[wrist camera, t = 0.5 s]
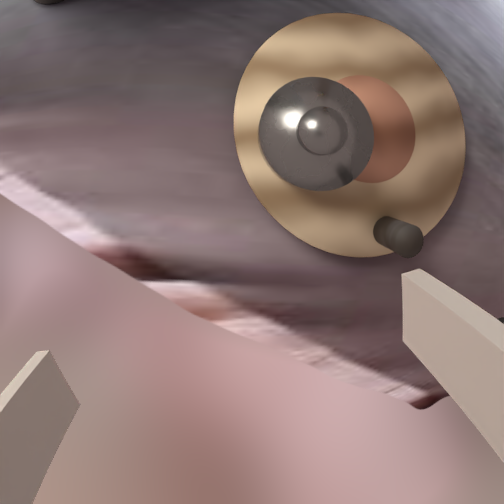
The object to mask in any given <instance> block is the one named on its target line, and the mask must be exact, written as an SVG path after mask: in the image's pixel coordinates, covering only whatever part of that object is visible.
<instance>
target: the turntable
mask: <svg viewBox="0 0 504 504" xmlns="http://www.w3.org/2000/svg"><path fill="white" fill-rule="evenodd" d="M304 77H322V78H327V79H330V80H333V81H336V82H338V83H340V84H342V85H344V86H345V87H347V88H349V89H350V90H351V91H352V92H353V93H355V94H356V95H357V97H358V98H359V99H360V100H361V101H362V103H363V104H364V105H365V107H366V109H367V111H368V113H369V115H370V118H371V121H372V124H373V130H374V145H373V151H372V154H371V157H370V160H369V162H368V164H367V166H366V167H365V169H364V170H363V171H362V173H361V174H360V175H359V176H358V177H357V178H356V179H354V180H353V181H352V182H350V183H349V184H347V185H345V186H343V187H340V188H338V189H334V190H329V191H313V190H307V189H304V188H300V187H297V186H294V185H291V184H289V183H287V182H285V181H284V180H282V179H281V178H279V177H278V176H277V175H276V174H275V173H274V172H273V171H272V170H271V169H270V168H269V167H268V165H267V164H266V162H265V160H264V159H263V156H262V154H261V152H260V148H259V144H258V124H259V120H260V117H261V115H262V112H263V110H264V107H265V105H266V103H267V102H268V100H269V99H270V97H271V96H272V95H273V94H274V93H275V92H276V91H277V90H278V89H279V88H280V87H282V86H283V85H285V84H287V83H289V82H291V81H293V80H296V79H299V78H304ZM234 137H235V143H236V150H237V154H238V157H239V161H240V164H241V167H242V170H243V172H244V174H245V177H246V179H247V181H248V183H249V185H250V187H251V188H252V190H253V192H254V193H255V195H256V197H257V198H258V200H259V201H260V202H261V203H262V205H263V206H264V207H265V208H266V210H267V211H268V212H269V213H270V214H271V215H272V216H273V217H274V218H275V219H276V220H277V221H278V222H279V223H280V224H281V225H282V226H283V227H284V228H285V229H287V230H288V231H289V232H291V233H292V234H293V235H295V236H296V237H297V238H299V239H301V240H303V241H304V242H306V243H308V244H310V245H312V246H314V247H316V248H319V249H321V250H324V251H326V252H329V253H334V254H338V255H342V256H349V257H375V256H381V255H386V254H390V253H393V252H395V253H397V254H399V255H401V256H402V257H405V258H412V257H414V256H416V255H417V254H418V253H419V252H420V250H421V248H422V246H423V240H424V239H423V236H425V235H426V234H427V233H428V232H429V231H430V230H431V229H433V228H434V227H435V226H436V225H437V223H438V222H439V221H440V220H441V218H442V217H443V216H444V215H445V213H446V212H447V210H448V208H449V207H450V205H451V203H452V201H453V199H454V197H455V195H456V193H457V191H458V188H459V184H460V181H461V178H462V174H463V169H464V163H465V150H466V147H465V131H464V124H463V119H462V115H461V111H460V107H459V104H458V102H457V99H456V96H455V94H454V92H453V89H452V88H451V86H450V84H449V82H448V80H447V78H446V77H445V75H444V73H443V72H442V70H441V69H440V67H439V66H438V65H437V64H436V62H435V61H434V60H433V59H432V57H431V56H430V55H429V54H428V53H427V52H426V51H425V50H424V49H423V48H422V47H421V46H420V45H419V44H417V43H416V42H415V41H414V40H412V39H411V38H410V37H408V36H407V35H406V34H404V33H402V32H401V31H399V30H397V29H396V28H394V27H392V26H390V25H388V24H386V23H383V22H381V21H379V20H376V19H372V18H369V17H366V16H361V15H356V14H349V13H327V14H319V15H314V16H310V17H306V18H303V19H301V20H298V21H296V22H293V23H291V24H289V25H287V26H286V27H284V28H282V29H281V30H279V31H278V32H276V33H275V34H274V35H273V36H271V37H270V38H269V39H268V40H266V42H265V43H264V44H263V45H262V46H261V47H260V48H259V49H258V50H257V52H256V53H255V54H254V56H253V57H252V59H251V61H250V62H249V64H248V65H247V67H246V69H245V72H244V74H243V76H242V78H241V81H240V84H239V88H238V91H237V95H236V101H235V109H234Z"/></svg>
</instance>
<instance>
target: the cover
mask: <svg viewBox="0 0 504 504" xmlns="http://www.w3.org/2000/svg"><path fill="white" fill-rule="evenodd" d="M258 144H259V148H260V152H261V154H262V156H263V159H264V160H265V162H266V164H267V165H268V167H269V168H270V169H271V170H272V171H273V172H274V173H275V174H276V175H277V176H278V177H279V178H281V179H282V180H284V181H285V182H287V183H289V184H291V185H294V186H297V187H300V188H304V189H307V190H313V191H329V190H334V189H338V188H340V187H343V186H345V185H347V184H349V183H350V182H352V181H353V180H354V179H356V178H357V177H358V176H359V175H360V174H361V173H362V171H363V170H364V169H365V167H366V166H367V164H368V162H369V160H370V157H371V154H372V151H373V145H374V130H373V124H372V121H371V118H370V115H369V113H368V111H367V109H366V107H365V105H364V104H363V103H362V101H361V100H360V99H359V98H358V97H357V95H356V94H355V93H353V92H352V91H351V90H350V89H349V88H347V87H345V86H344V85H342V84H340V83H338V82H336V81H333V80H330V79H327V78H322V77H304V78H299V79H296V80H293V81H291V82H289V83H287V84H285V85H283V86H282V87H280V88H279V89H278V90H277V91H276V92H275V93H274V94H273V95H272V96H271V97H270V99H269V100H268V102H267V103H266V105H265V107H264V110H263V112H262V115H261V117H260V120H259V124H258Z"/></svg>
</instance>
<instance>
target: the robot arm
mask: <svg viewBox="0 0 504 504" xmlns="http://www.w3.org/2000/svg"><path fill="white" fill-rule="evenodd" d="M34 1H35V2H37V3H41V4H52V3H57V2H61V1H64V0H34ZM402 298H403V342H404V343H405V344H406V345H407V346H408V347H409V348H410V350H411V351H412V352H413V353H414V354H415V355H416V356H417V357H418V359H419V360H420V361H421V362H422V363H423V364H424V366H425V367H426V368H427V369H428V370H429V371H430V372H431V374H432V375H433V376H434V377H435V378H436V379H437V381H438V382H439V383H440V384H441V385H442V387H443V388H444V389H445V390H446V391H447V392H448V394H449V395H450V396H451V397H452V398H453V400H454V401H455V402H456V403H457V404H458V406H459V407H460V408H461V409H462V410H463V412H464V413H465V414H466V415H467V417H468V418H469V419H470V420H471V422H472V423H473V424H474V425H475V427H476V428H477V429H478V430H479V432H480V433H481V434H482V435H483V437H484V438H485V439H486V441H487V442H488V443H489V444H490V446H491V447H492V448H493V449H494V451H495V452H496V454H497V455H498V456H499V457H500V459H501V460H502V461H503V463H504V318H502V317H501V318H499V319H496V318H495V317H493V316H492V315H490V314H489V313H487V312H486V311H484V310H483V309H481V308H480V307H479V306H477V305H476V304H474V303H473V302H471V301H470V300H468V299H467V298H465V297H464V296H462V295H461V294H459V293H458V292H456V291H455V290H453V289H451V288H450V287H448V286H447V285H445V284H444V283H442V282H441V281H439V280H437V279H436V278H434V277H433V276H431V275H430V274H428V273H426V272H425V271H423V270H421V269H420V268H419V269H416V270H413V271H410V272H406V273H403V274H402ZM79 406H80V403H79V401H78V400H77V398H76V397H75V395H74V393H73V391H72V390H71V388H70V386H69V385H68V383H67V381H66V379H65V378H64V376H63V374H62V372H61V371H60V369H59V367H58V365H57V363H56V361H55V359H54V358H53V356H52V354H51V352H50V350H47V351H39V352H36V353H35V354H34V355H33V357H32V358H31V359H30V360H29V361H28V362H27V364H26V365H25V366H24V367H23V368H22V369H21V371H20V372H19V373H18V374H17V375H16V377H15V378H14V379H13V380H12V381H11V382H10V384H9V385H8V386H7V387H6V389H5V390H4V391H3V392H2V393H1V395H0V504H33V501H34V499H35V497H36V494H37V492H38V490H39V488H40V485H41V483H42V481H43V479H44V477H45V474H46V472H47V470H48V468H49V466H50V464H51V462H52V460H53V458H54V455H55V453H56V451H57V449H58V447H59V445H60V443H61V441H62V439H63V437H64V435H65V433H66V431H67V429H68V427H69V425H70V423H71V422H72V420H73V418H74V416H75V414H76V412H77V410H78V408H79Z"/></svg>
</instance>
